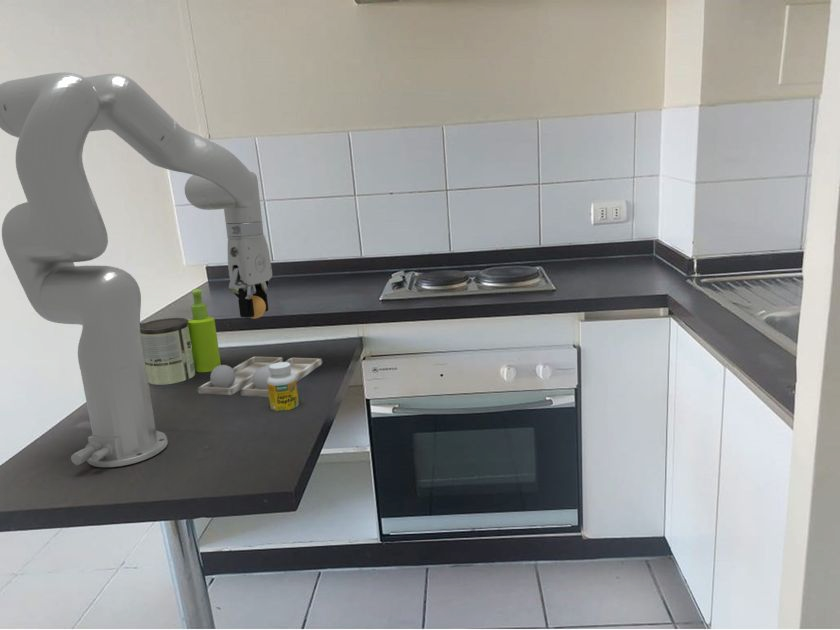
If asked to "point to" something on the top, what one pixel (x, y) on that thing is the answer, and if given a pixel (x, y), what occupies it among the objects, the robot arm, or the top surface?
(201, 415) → the top surface
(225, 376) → the grey ball back
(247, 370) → the trough board
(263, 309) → the orange ball
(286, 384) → the supplement bottle
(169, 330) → the coffee can
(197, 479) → the top surface
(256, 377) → the grey ball front
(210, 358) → the soap dispenser
